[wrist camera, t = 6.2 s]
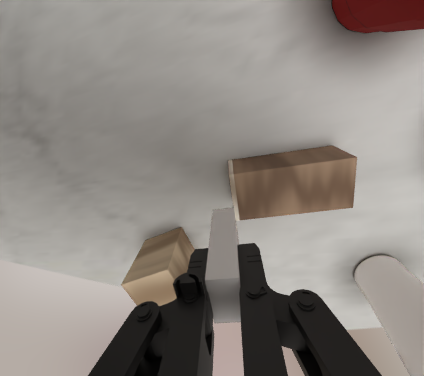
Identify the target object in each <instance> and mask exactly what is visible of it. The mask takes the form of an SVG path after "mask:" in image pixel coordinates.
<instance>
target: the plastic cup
mask: <svg viewBox="0 0 424 376" xmlns="http://www.w3.org/2000/svg"><path fill="white" fill-rule="evenodd" d="M332 8H333V10H334V12H335V15H336V17H337V20H338V21H339V22H340V23H341V24H342V25H343V26H345V27H346V28H347V29H348V30H352V31H357V32H362V33H371V32H379V31H382V32H394V31H405V30H416V29H424V0H332Z"/></svg>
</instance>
